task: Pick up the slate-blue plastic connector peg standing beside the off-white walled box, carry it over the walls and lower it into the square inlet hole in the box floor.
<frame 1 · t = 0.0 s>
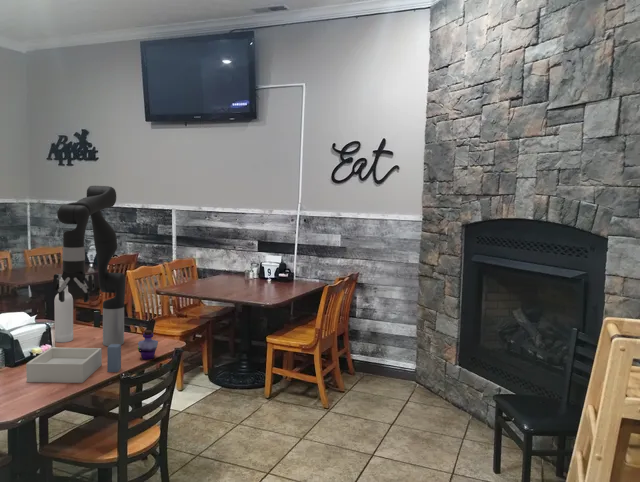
hand: (74, 301, 195), 29 cm above the table, tool pointing down, fingers open, 8 cm apart
bottle: (64, 340, 244), on the table
connector peg: (114, 370, 207), on the table
walled box: (66, 373, 202), on the table
potion bottle: (148, 358, 223), on the table
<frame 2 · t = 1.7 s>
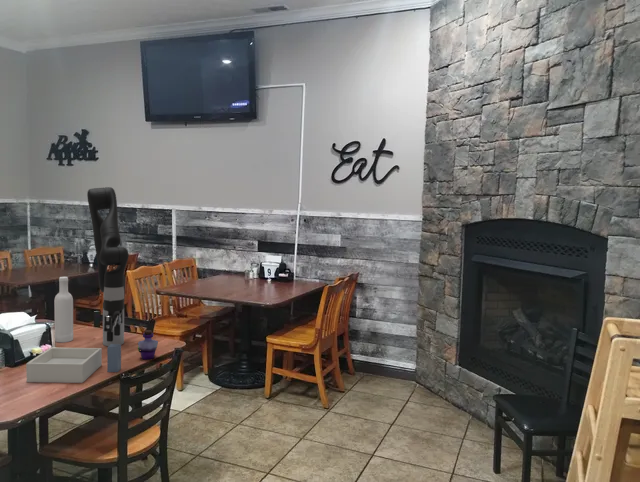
hand: (113, 338, 206), 13 cm above the table, tool pointing down, fingers open, 8 cm apart
nothing on the table moved.
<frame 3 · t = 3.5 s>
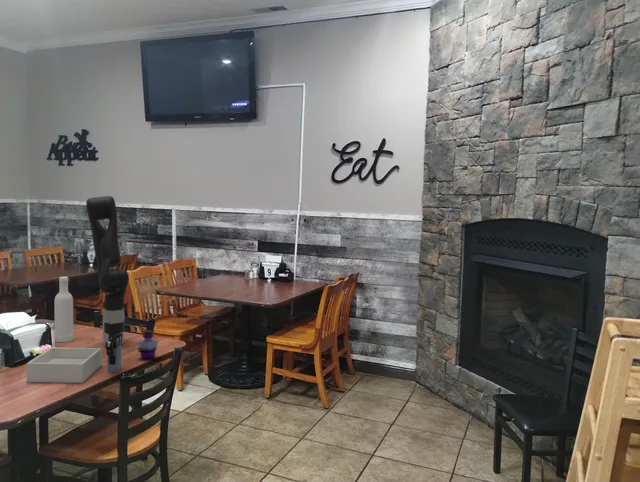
hand: (114, 362, 207), 3 cm above the table, tool pointing down, fingers closed on connector peg, 4 cm apart
connector peg: (114, 370, 207), on the table, touching gripper
everything else where it was.
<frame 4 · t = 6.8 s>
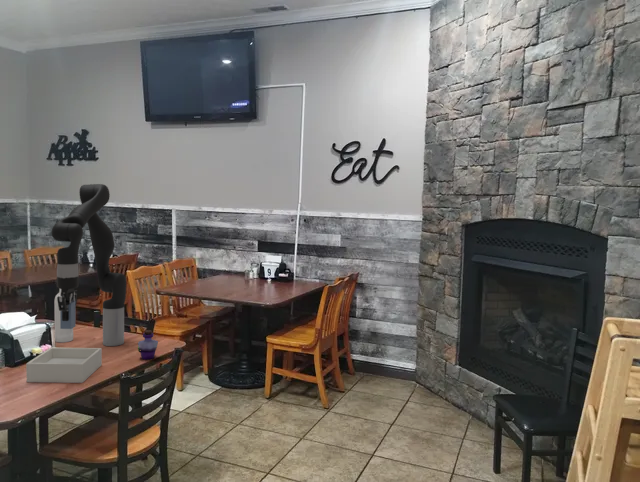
hand: (67, 319, 200), 21 cm above the table, tool pointing down, fingers closed on connector peg, 4 cm apart
connector peg: (68, 327, 200), point 18 cm above the table, touching gripper
everything else where it was.
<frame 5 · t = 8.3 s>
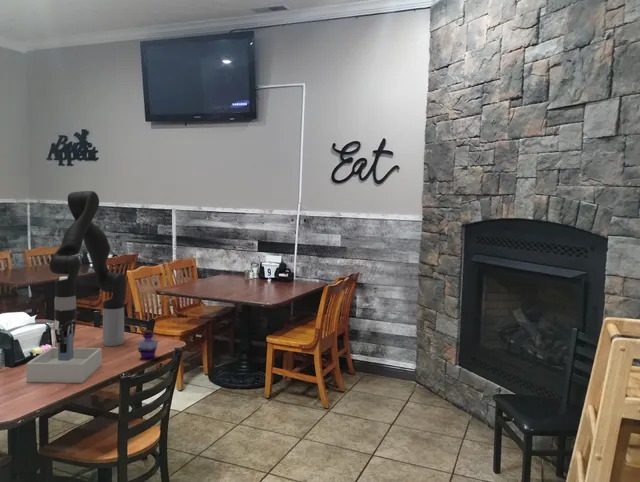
hand: (65, 350, 201), 9 cm above the table, tool pointing down, fingers closed on connector peg, 4 cm apart
connector peg: (65, 358, 201), point 6 cm above the table, touching gripper
everything else where it was.
when the fingers open (5 cm above the table, at t = 9.9 s): connector peg drops 1 cm, resting in walled box.
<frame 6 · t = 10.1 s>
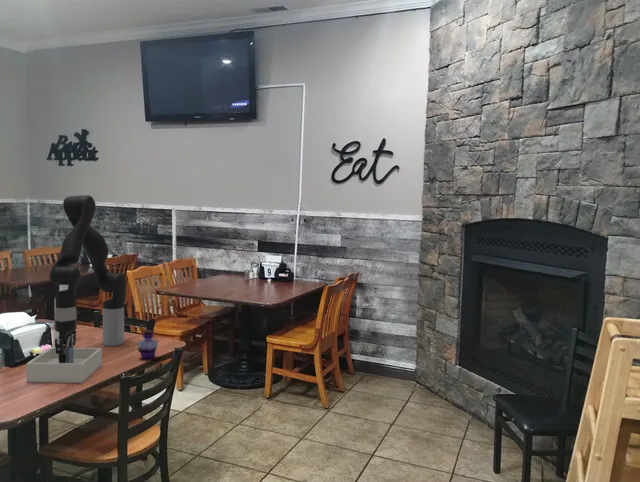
hand: (66, 360, 201), 5 cm above the table, tool pointing down, fingers open, 6 cm apart
connector peg: (66, 372, 202), resting in walled box
everything else where it was.
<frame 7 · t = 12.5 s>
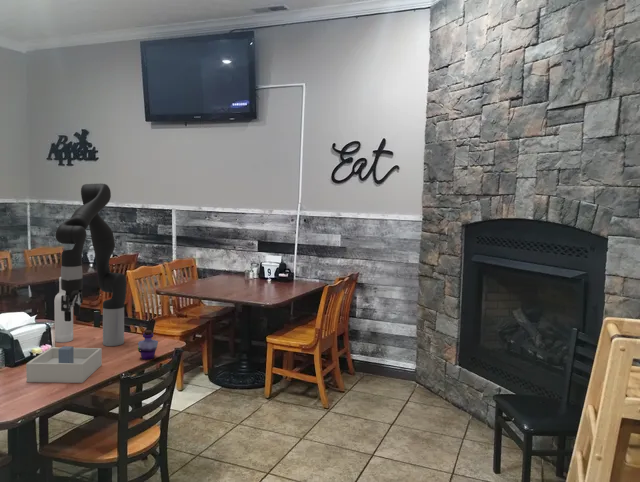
hand: (72, 318, 202), 21 cm above the table, tool pointing down, fingers open, 8 cm apart
nothing on the table moved.
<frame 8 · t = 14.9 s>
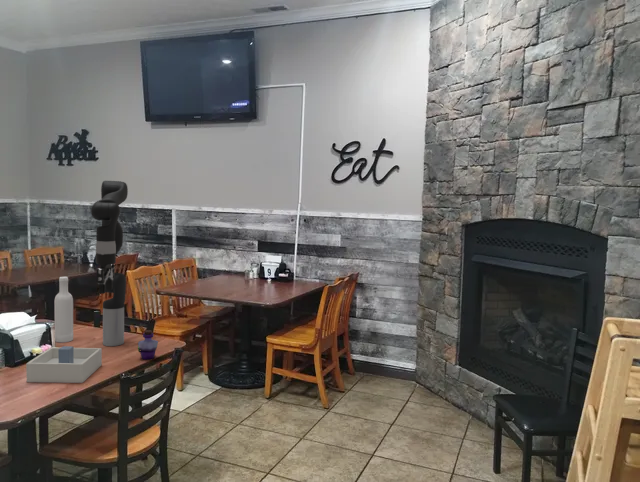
hand: (105, 291, 212), 30 cm above the table, tool pointing down, fingers open, 8 cm apart
nothing on the table moved.
at the end: connector peg 0.2 cm off-centre on the walled box, point 0.0 cm above the walled box's base; connector peg tilted 0°; the gripper is holding nothing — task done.
